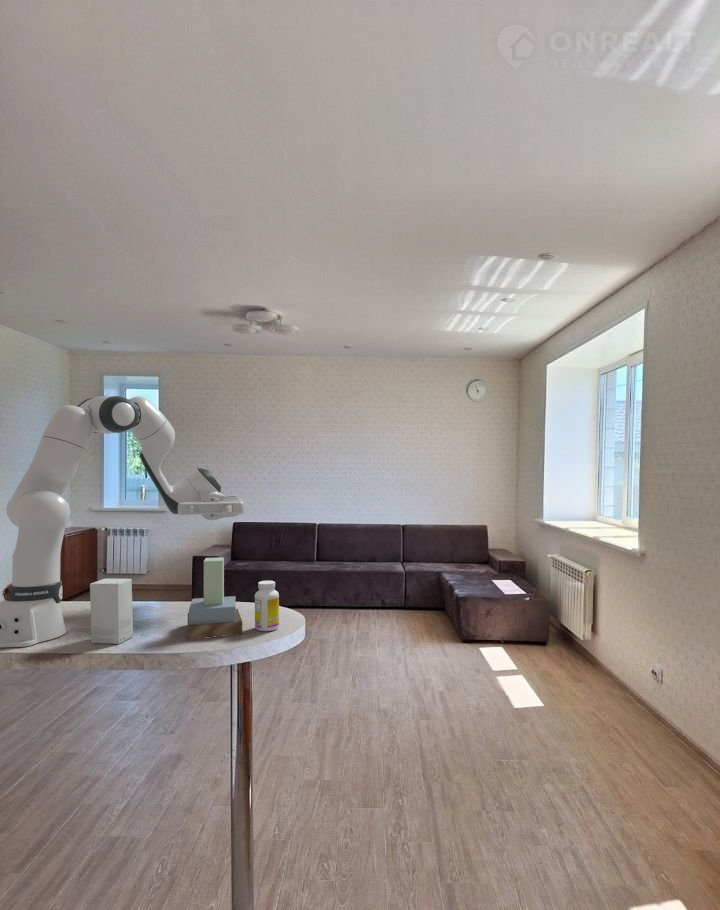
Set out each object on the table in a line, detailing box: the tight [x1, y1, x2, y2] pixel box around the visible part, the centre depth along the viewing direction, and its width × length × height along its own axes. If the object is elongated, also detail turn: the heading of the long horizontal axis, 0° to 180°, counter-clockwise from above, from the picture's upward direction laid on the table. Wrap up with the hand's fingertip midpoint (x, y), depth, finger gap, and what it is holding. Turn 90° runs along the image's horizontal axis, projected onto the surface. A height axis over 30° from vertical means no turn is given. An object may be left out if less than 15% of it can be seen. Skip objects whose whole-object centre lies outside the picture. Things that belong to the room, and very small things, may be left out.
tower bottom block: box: [187, 608, 243, 641], centre depth 148 cm, size 14×14×4 cm
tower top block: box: [188, 595, 237, 625], centre depth 149 cm, size 12×12×4 cm
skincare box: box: [89, 578, 134, 645], centre depth 140 cm, size 8×7×16 cm
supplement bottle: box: [254, 580, 280, 632], centre depth 149 cm, size 7×7×13 cm
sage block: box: [203, 556, 225, 605], centre depth 149 cm, size 5×5×12 cm
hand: (209, 509), depth 164 cm, fingers open, 8 cm apart
